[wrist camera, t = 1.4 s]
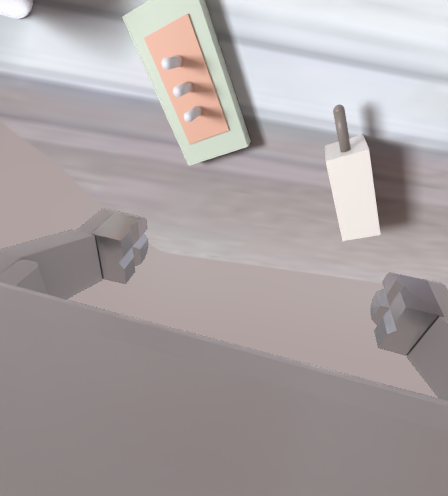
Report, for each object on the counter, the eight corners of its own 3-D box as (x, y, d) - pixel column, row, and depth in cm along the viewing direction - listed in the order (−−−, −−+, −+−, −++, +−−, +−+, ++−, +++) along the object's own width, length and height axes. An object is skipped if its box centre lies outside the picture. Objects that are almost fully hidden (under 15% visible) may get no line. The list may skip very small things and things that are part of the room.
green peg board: (197, -23, 28) (176, -32, 24) (250, 141, 36) (242, 156, 32) (131, 17, 32) (102, 16, 27) (193, 160, 39) (178, 176, 35)
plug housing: (356, 91, 30) (362, 100, 27) (373, 213, 37) (380, 234, 34) (316, 104, 32) (316, 115, 28) (339, 219, 39) (342, 241, 35)
